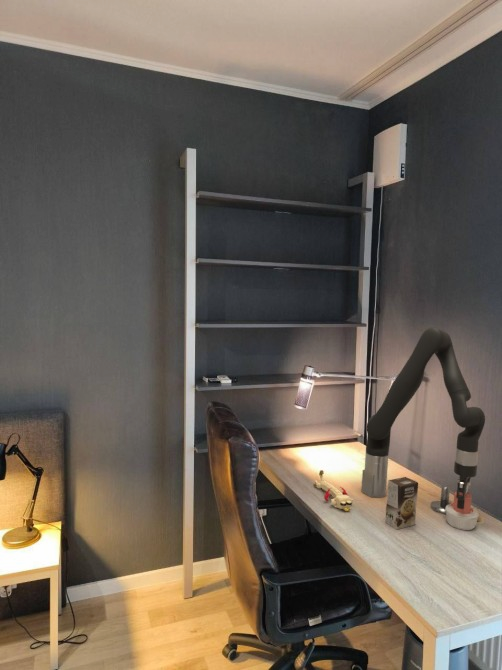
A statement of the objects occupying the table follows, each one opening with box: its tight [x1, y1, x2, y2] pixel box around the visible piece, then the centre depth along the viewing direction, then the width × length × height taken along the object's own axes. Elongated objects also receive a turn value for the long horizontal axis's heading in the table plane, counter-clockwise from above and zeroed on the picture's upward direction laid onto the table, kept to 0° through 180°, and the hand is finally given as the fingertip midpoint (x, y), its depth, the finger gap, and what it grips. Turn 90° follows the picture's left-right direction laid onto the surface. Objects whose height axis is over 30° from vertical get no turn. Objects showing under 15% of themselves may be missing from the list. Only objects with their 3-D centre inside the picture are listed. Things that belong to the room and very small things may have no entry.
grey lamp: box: [430, 484, 452, 515], centre depth 182 cm, size 10×10×9 cm
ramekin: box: [445, 504, 479, 531], centre depth 171 cm, size 11×11×5 cm
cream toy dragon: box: [313, 469, 354, 512], centre depth 188 cm, size 10×9×25 cm
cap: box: [451, 490, 475, 514], centre depth 170 cm, size 8×6×6 cm
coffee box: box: [384, 476, 419, 530], centre depth 169 cm, size 9×6×16 cm
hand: (462, 504), depth 170 cm, fingers open, 8 cm apart
